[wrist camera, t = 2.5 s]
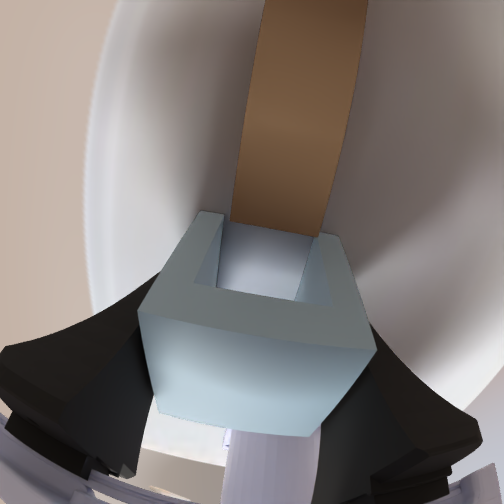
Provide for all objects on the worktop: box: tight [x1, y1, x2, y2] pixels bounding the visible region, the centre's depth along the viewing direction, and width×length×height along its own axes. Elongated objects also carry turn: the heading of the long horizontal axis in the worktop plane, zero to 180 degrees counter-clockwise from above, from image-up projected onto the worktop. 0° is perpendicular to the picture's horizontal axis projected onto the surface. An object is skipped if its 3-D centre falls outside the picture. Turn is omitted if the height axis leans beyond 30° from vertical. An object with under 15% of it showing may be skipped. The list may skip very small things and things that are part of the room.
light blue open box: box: [137, 211, 377, 437], centre depth 9 cm, size 5×5×6 cm
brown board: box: [230, 0, 368, 237], centre depth 5 cm, size 12×2×3 cm, turn 171°
